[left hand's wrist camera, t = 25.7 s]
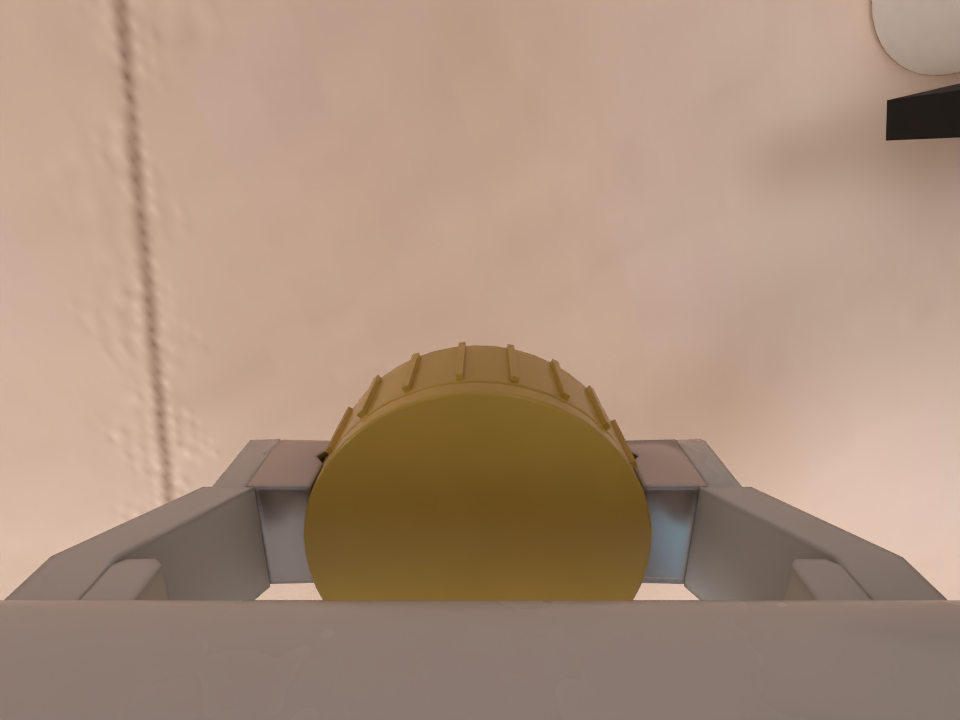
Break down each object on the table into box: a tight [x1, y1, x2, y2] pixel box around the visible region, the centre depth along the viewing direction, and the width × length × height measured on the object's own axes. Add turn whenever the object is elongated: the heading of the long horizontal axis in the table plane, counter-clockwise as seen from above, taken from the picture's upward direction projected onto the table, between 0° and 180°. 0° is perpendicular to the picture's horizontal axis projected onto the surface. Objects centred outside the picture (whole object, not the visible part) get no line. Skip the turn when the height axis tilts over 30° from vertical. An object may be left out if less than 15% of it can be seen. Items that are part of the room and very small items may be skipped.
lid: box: [304, 342, 652, 600], centre depth 9 cm, size 5×5×2 cm
